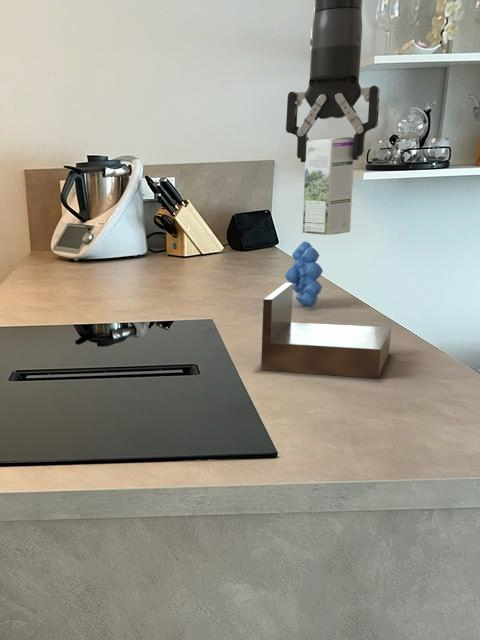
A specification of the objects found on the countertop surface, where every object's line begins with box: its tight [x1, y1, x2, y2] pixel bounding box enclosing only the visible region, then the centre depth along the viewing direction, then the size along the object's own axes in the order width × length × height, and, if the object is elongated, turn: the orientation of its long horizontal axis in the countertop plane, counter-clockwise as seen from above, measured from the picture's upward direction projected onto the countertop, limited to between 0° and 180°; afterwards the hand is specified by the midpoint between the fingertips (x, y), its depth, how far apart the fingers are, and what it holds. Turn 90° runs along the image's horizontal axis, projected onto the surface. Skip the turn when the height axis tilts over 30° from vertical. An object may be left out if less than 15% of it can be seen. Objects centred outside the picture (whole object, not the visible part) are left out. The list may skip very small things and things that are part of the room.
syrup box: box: [302, 136, 355, 236], centre depth 128 cm, size 6×6×14 cm
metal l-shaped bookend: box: [260, 282, 392, 379], centre depth 112 cm, size 16×14×10 cm
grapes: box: [284, 240, 324, 308], centre depth 151 cm, size 12×7×12 cm, turn 9°
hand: (329, 160), depth 126 cm, fingers closed on syrup box, 7 cm apart
